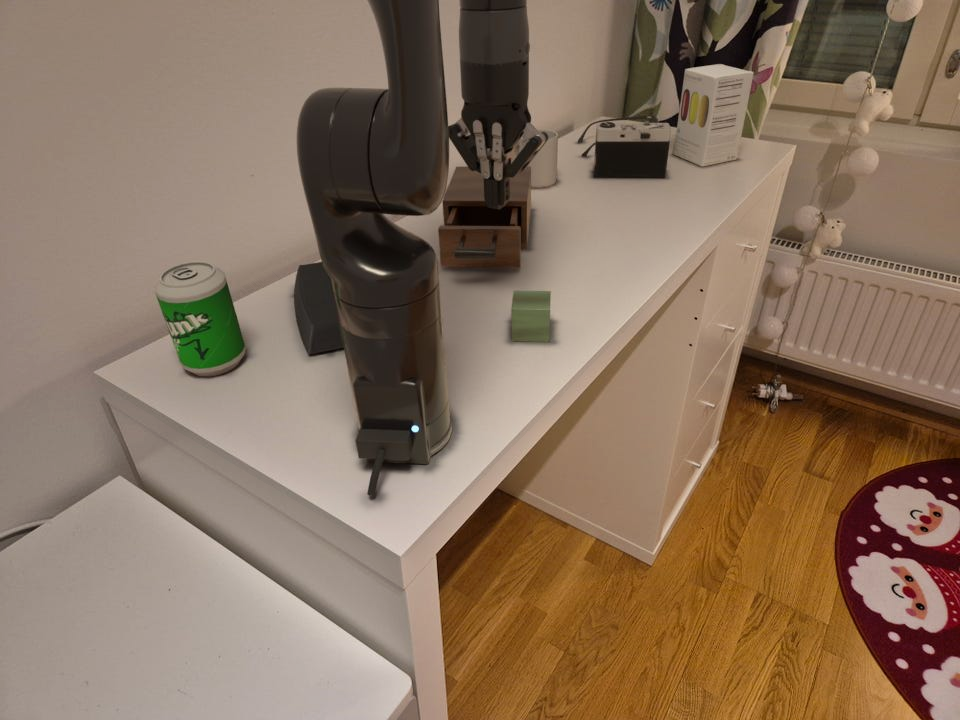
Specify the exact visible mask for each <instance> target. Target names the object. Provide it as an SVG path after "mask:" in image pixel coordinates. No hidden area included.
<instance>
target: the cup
mask: <svg viewBox="0 0 960 720" xmlns="http://www.w3.org/2000/svg"><path fill="white" fill-rule="evenodd" d="M537 130H538V131H539V132H540V133H541V132H546V133H547V134H548V141H547V142H546V143H545V144H544V146H543V147H542V148H541V150H540V151H539V152H538V153H537V155H536V156H535V157H534V158H533V160H532V161H531V162H530V163H529V165H528V166H531V189H543V188H544V189H545V188H548V187H551V186H554V185H555V183H556V182H557V180H558V179H557V178H558V152H559V151H558V149H559V148H558V145H559V142H558V141H559V134H558V132H556V131H554V130H550V129H537ZM523 138H524V134H523V135H522V137H521V138H520V140H519V141H518V143H517V144H516V146H515V154H514V156H513V161H514V159H515V158H516V157H517V156H518V154H519V153H520V152H521V150H522V149H523V148H524V146H523V144H522V143H523Z"/></svg>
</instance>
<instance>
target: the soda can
mask: <svg viewBox="0 0 960 720" xmlns="http://www.w3.org/2000/svg"><path fill="white" fill-rule="evenodd" d="M153 288H154V294H155V297H156V299H157V302H158V306H159V308H160V310H161V314H162V316H163V319H164V321H165V325H166V327H167V330H168V333H169V335H170V338H171V341H172V344H173V347H174V350H175V353H176V355H177V358H178V361H179V363H180V366H181V367H182V368H183V369H184V370H185V371H188V372H190V373H192V374H194V375H197V376H199V377H215V376H220V375H222V374H225V373H228V372H230V371H231V370H233V369H234V368H236V367H237V366H238V365H239V364H240V363H241V360H242V358H243V357H244V356H245V353H246V352H247V346H246V344H245V340H244V337H243V332H242V329H241V327H240V321H239V318H238V316H237V312H236V309H235V305H234V302H233V297H232V294H231V290H230V287H229V284H228V280H227V276H226V273H225V272H224V270H222V269H220V268H219V267H216V265H214V264H212V263H211V262H208V261H201V260H200V261H199V260H198V261H197V260H196V261H195V260H194V261H188V262H187V261H186V262H182V263H178V264H176V265H173V266H171V267H169V268H167V269H165V270H164V271H163V272H161V273H160V275H159V279H158V280H157V281H156V282H155V285H154V287H153Z"/></svg>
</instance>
